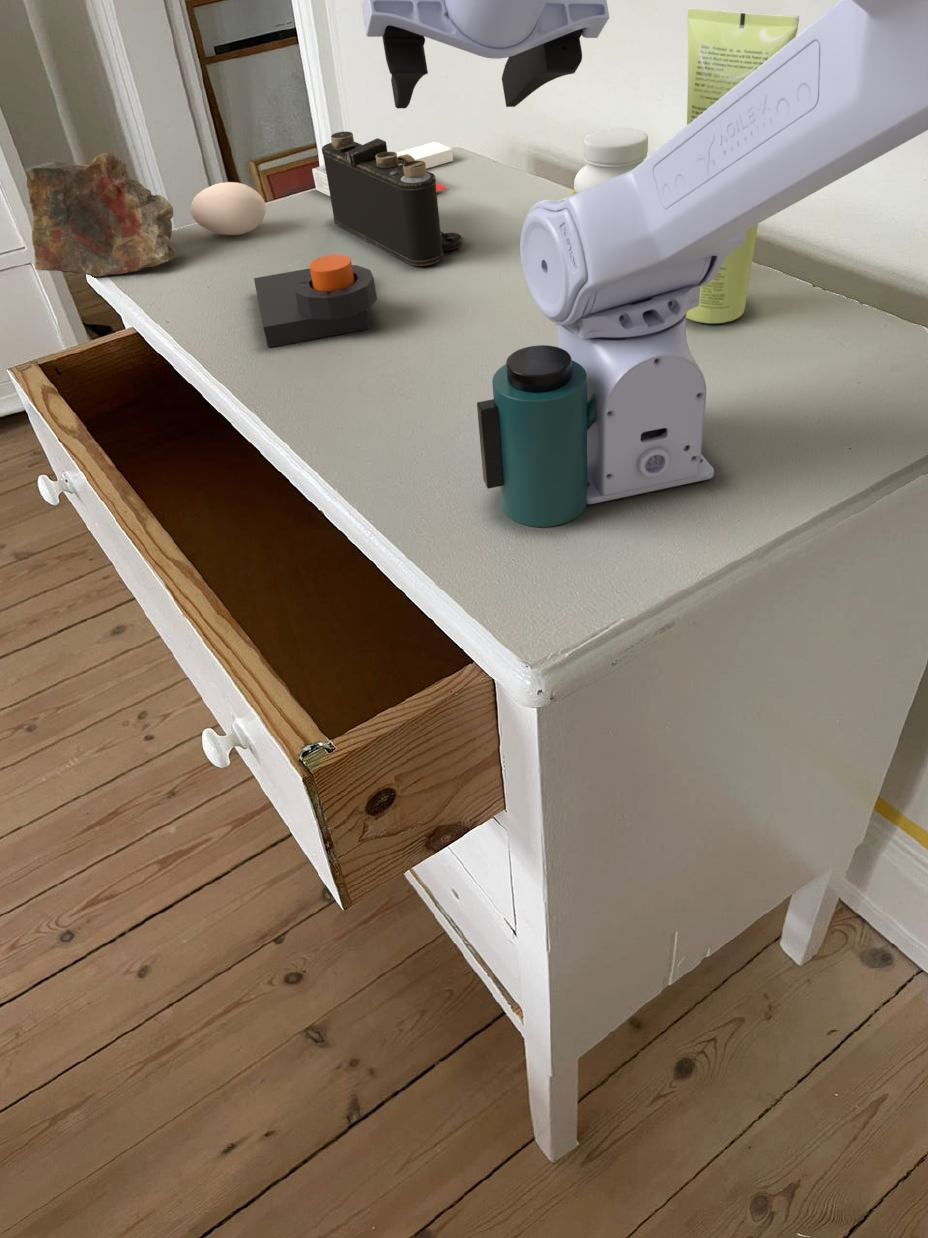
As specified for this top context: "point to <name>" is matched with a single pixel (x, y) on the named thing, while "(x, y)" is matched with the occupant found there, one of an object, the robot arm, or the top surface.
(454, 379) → the top surface
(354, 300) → the push button switch
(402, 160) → the camera
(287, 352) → the top surface
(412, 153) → the eraser
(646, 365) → the robot arm
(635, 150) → the pill bottle
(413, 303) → the top surface
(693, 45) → the tube
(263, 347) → the top surface
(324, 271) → the switch button
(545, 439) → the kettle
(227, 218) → the egg
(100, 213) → the rock
